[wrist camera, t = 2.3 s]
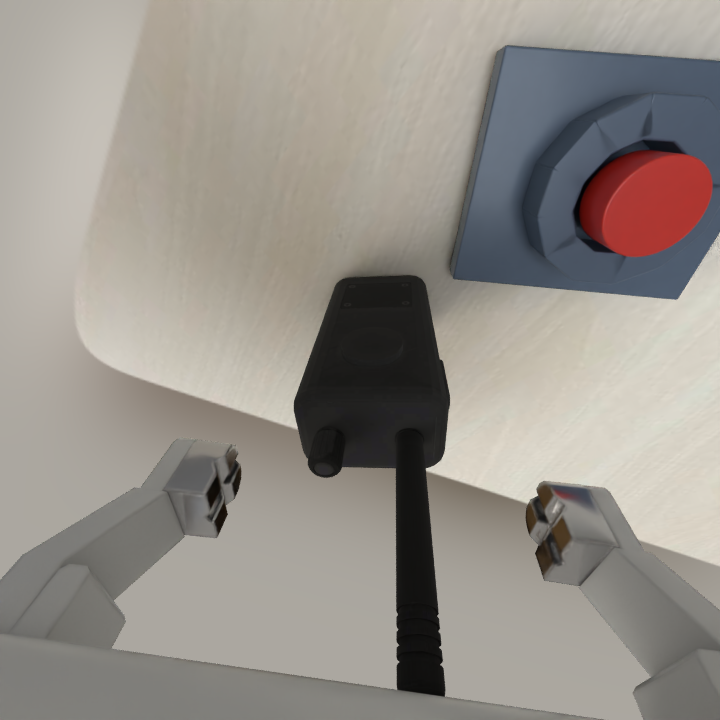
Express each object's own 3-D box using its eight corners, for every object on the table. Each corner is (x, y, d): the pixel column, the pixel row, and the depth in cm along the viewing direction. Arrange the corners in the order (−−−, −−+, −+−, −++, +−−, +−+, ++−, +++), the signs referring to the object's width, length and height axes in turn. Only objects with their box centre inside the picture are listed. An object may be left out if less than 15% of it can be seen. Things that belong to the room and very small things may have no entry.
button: (565, 238, 13) (585, 253, 12) (601, 146, 12) (630, 149, 10) (646, 246, 13) (677, 261, 12) (694, 153, 11) (738, 157, 10)
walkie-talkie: (339, 331, 19) (242, 708, 7) (332, 272, 17) (183, 644, 5) (428, 330, 19) (494, 733, 6) (431, 268, 17) (532, 672, 5)
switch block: (448, 270, 17) (458, 295, 14) (496, 50, 12) (522, 33, 10) (661, 289, 17) (707, 319, 14) (789, 72, 12) (891, 59, 10)
